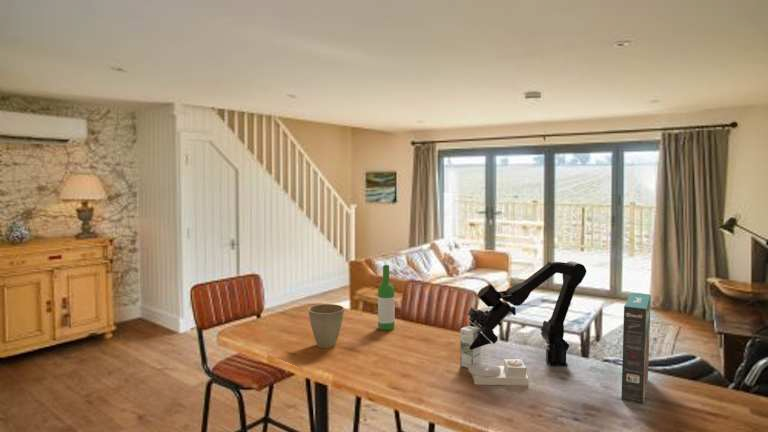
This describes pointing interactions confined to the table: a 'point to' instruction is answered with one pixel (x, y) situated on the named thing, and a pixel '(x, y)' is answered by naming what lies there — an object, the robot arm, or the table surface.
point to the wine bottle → (386, 302)
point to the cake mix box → (635, 347)
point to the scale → (500, 373)
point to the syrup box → (466, 340)
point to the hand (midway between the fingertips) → (467, 345)
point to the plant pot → (326, 323)
